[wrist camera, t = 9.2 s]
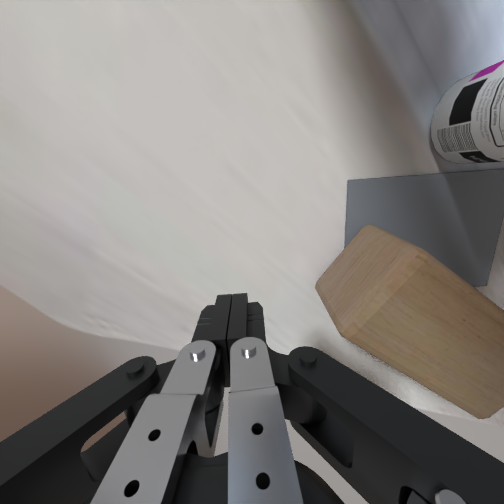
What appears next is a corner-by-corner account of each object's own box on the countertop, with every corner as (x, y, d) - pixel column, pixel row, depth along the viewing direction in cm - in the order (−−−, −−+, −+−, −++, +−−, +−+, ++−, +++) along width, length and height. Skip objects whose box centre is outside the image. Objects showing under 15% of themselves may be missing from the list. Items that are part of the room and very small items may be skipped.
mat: (347, 180, 27) (348, 180, 27) (512, 168, 27) (515, 168, 27) (342, 294, 32) (343, 295, 31) (484, 284, 31) (486, 285, 31)
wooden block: (364, 218, 28) (479, 304, 32) (309, 284, 31) (421, 355, 35) (423, 246, 19) (574, 362, 23) (336, 338, 21) (485, 427, 25)
